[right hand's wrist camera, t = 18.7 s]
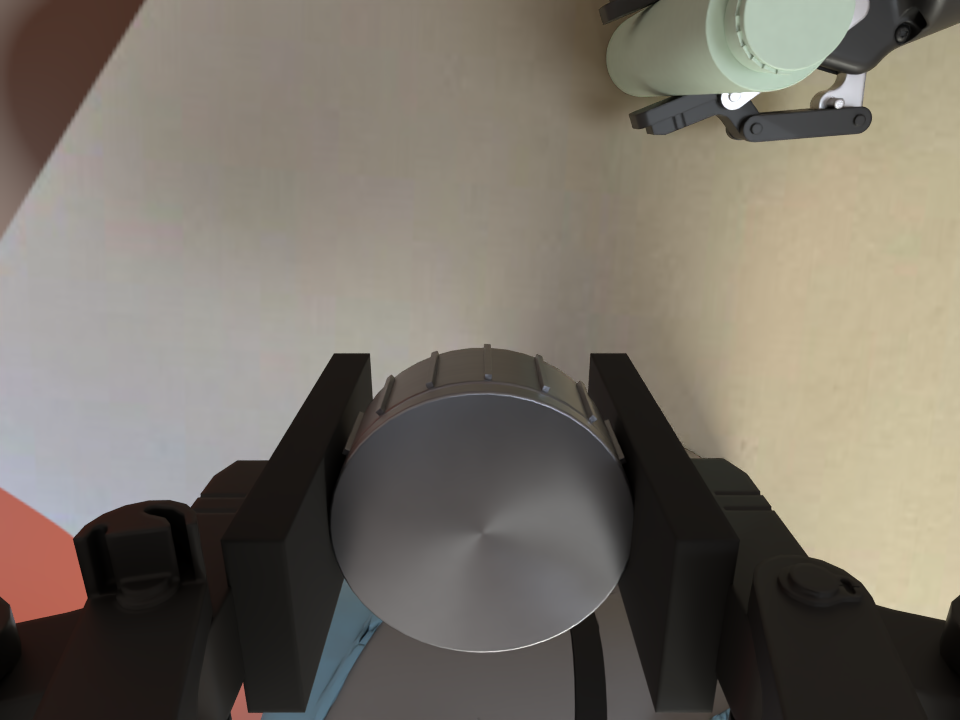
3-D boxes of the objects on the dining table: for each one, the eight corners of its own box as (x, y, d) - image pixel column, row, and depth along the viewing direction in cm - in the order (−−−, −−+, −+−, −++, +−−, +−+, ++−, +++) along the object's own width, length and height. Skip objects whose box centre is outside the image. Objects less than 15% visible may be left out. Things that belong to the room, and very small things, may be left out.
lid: (452, 619, 13) (447, 701, 11) (291, 440, 12) (256, 500, 10) (664, 498, 12) (697, 566, 10) (517, 287, 11) (525, 322, 9)
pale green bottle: (611, 9, 36) (741, -84, 18) (689, 15, 36) (895, -72, 18) (601, 94, 38) (711, 85, 20) (675, 99, 38) (853, 95, 20)
